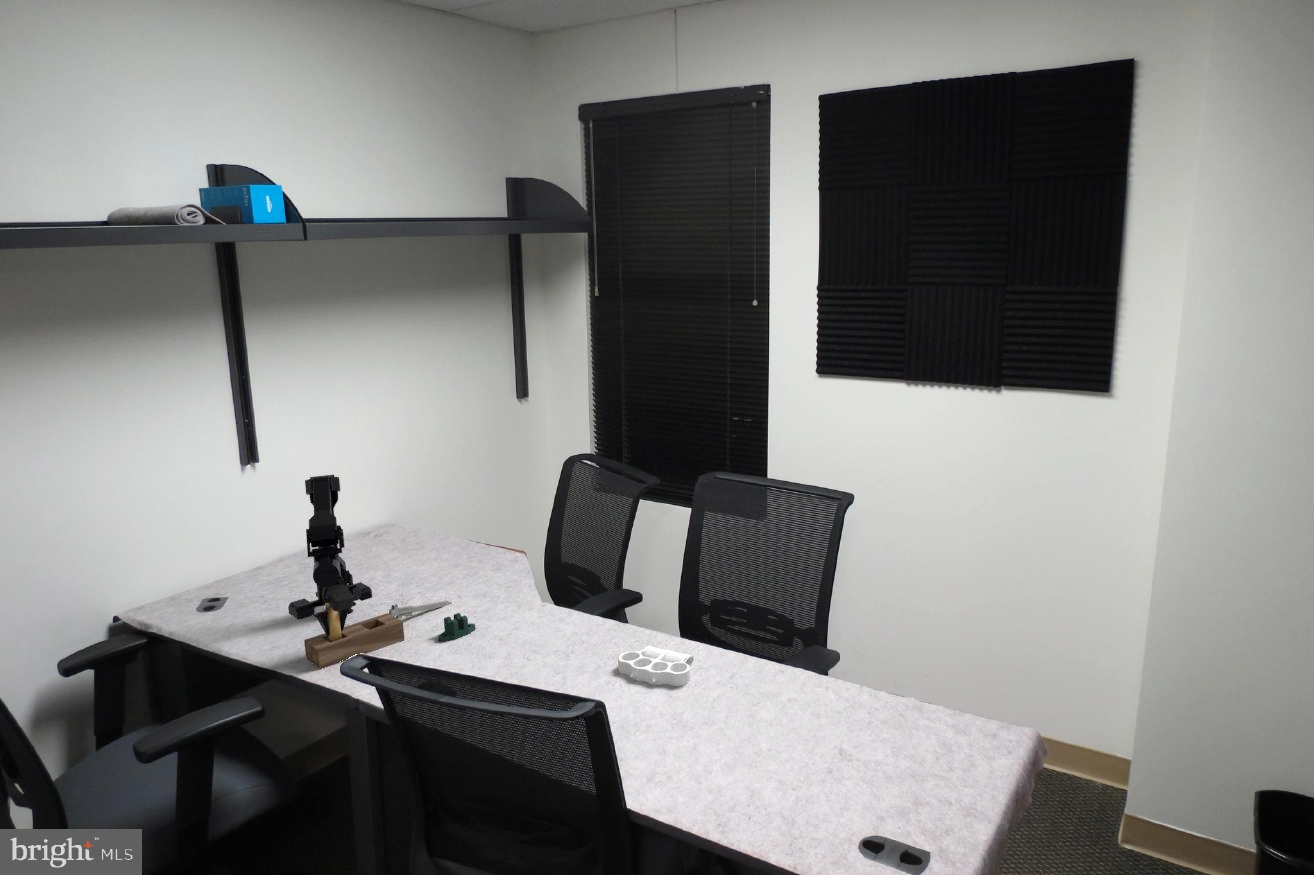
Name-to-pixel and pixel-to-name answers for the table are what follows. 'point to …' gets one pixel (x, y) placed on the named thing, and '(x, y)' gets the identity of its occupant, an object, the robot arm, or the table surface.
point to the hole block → (354, 640)
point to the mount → (455, 628)
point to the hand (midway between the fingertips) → (334, 633)
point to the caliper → (414, 608)
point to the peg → (333, 624)
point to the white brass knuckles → (656, 666)
